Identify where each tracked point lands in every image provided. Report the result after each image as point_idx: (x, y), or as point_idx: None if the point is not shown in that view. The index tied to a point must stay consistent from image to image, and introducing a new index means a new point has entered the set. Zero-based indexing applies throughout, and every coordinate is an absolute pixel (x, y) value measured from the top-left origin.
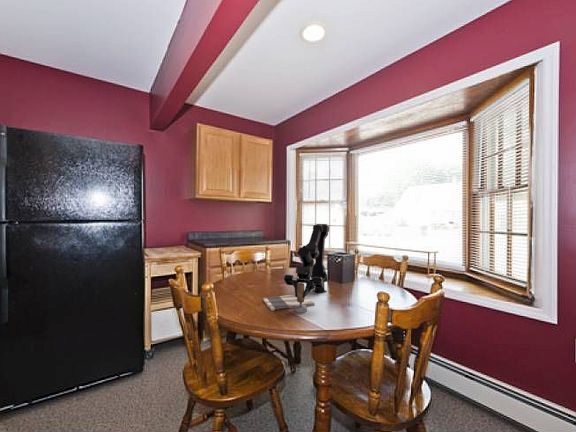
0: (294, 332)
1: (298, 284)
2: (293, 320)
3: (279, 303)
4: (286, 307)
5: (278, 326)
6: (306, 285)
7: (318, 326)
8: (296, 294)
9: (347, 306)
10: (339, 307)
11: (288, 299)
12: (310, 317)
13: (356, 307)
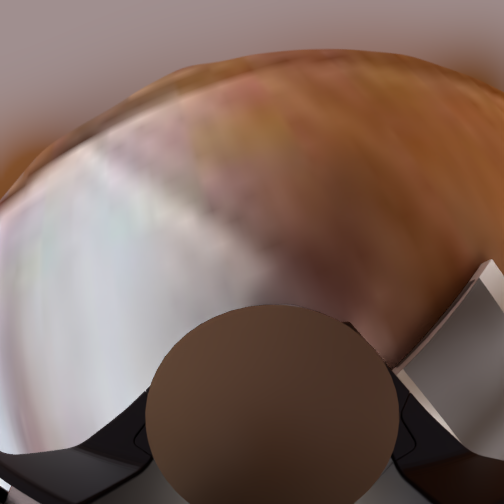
0: (216, 65)
1: (326, 358)
2: (271, 168)
3: (484, 383)
4: (414, 352)
5: (316, 82)
6: (128, 467)
7: (114, 156)
8: None
9: None
10: None
11: None
12: (172, 258)
13: None
